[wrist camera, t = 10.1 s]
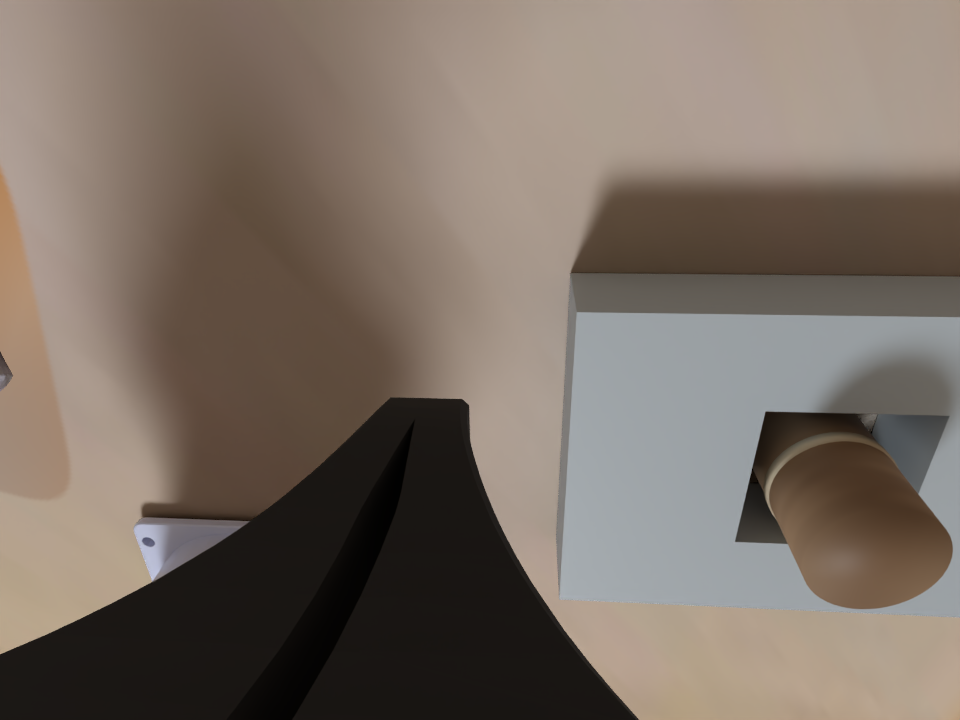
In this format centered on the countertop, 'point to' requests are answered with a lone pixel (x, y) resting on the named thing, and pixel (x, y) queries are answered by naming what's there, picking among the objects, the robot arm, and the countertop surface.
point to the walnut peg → (848, 511)
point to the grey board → (740, 425)
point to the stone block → (4, 373)
